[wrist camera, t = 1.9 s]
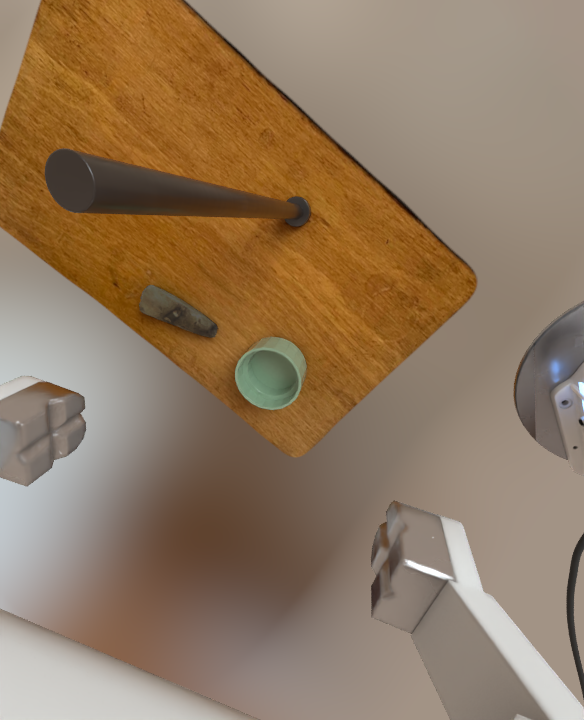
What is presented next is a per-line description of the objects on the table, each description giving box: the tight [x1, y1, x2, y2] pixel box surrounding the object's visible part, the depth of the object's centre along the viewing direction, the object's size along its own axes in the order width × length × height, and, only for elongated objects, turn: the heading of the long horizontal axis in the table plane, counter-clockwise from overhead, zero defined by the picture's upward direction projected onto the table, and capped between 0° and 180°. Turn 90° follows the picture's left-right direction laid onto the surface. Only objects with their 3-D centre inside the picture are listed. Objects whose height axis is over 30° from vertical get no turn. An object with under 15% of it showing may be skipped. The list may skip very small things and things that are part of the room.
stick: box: [45, 149, 311, 227], centre depth 28 cm, size 4×4×38 cm
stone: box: [139, 285, 218, 337], centre depth 53 cm, size 13×5×2 cm, turn 68°
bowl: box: [235, 337, 307, 410], centre depth 52 cm, size 10×10×6 cm
